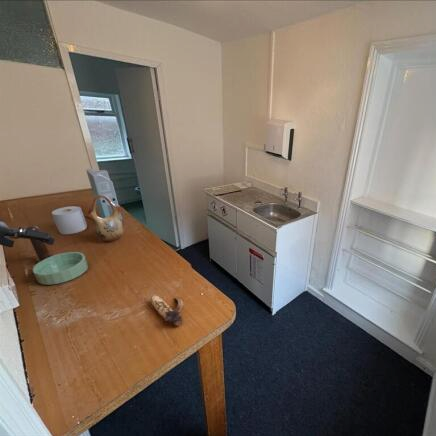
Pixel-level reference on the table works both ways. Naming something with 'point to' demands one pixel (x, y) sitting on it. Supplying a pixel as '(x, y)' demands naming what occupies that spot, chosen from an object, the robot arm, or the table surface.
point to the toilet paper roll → (69, 220)
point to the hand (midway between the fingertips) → (33, 242)
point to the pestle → (39, 246)
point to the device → (103, 191)
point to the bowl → (60, 268)
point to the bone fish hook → (168, 310)
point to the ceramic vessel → (106, 222)
